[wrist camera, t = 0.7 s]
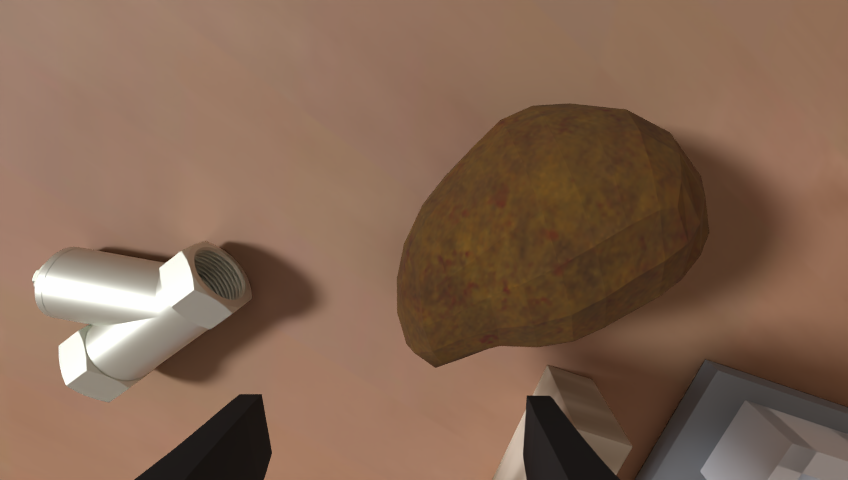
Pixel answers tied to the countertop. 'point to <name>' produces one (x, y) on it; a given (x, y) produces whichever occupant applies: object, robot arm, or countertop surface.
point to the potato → (549, 232)
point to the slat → (583, 412)
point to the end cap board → (749, 432)
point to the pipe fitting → (134, 310)
